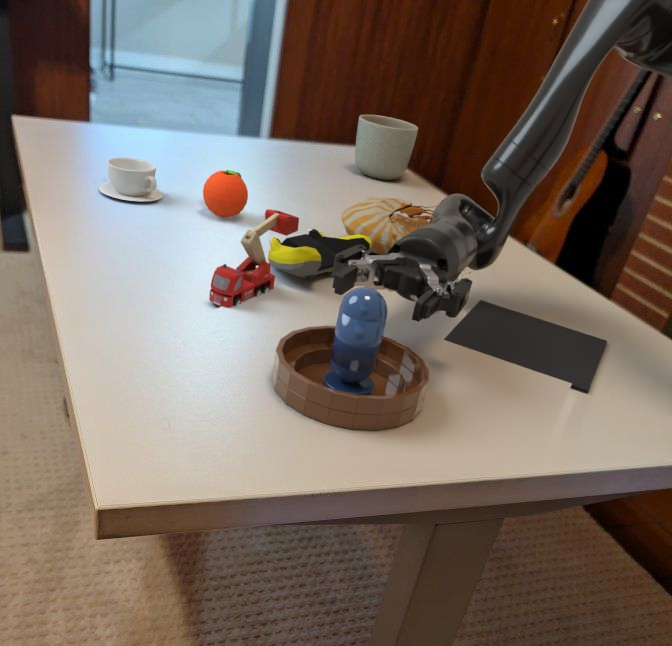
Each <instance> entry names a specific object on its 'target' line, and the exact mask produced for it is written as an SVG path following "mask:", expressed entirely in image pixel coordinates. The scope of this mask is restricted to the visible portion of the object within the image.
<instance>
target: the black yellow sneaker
mask: <svg viewBox="0 0 672 646" xmlns="http://www.w3.org/2000/svg"><path fill="white" fill-rule="evenodd" d="M268 243H269V244H268V245H269V248H270V249H269V250H268V255H267V261H268V263H269V264H271V267H273V268H275V269H277V270H279V271H282V272H285V273H286V274H289V275H290V274H291V275H293V276H296V277H298V278H302V279H306V280H313V279H315V278H316V277H317V275H320V274H324V273H327V272H328V273H331V272H333V266H334V261H335V255H336V254H338V253H340V252H342V251H344V250H347V249H349V248H351V247H353V246H356V245H363V246H365V247H366V252H365V254H367V255H369V254H370V253H372V252H371V249H372V241H371V239H370V237H368V236H364V235H359V234H356V235H351V236H350V235H345V236H339V237H330V236H326V235H325V234H324V233H323V232H322V231H320V230H318V229H315V228H308V229H307V230H306V233H304V234H300V235H295V236H290V237H286V238H285V239H283V241H281V240H280V239H279V238H278V237H275V236H273V237H271V236H269V238H268Z"/></svg>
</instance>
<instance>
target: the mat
mask: <svg viewBox="0 0 672 646" xmlns="http://www.w3.org/2000/svg"><path fill="white" fill-rule="evenodd" d="M443 341H446V342H449V343H452V344H454V345H458V346H460V347H463V348H467V349H469V350H471V351H472V350H473V351H476V352H478V353H481V354H484V355H486V356H489V357H492V358H496V359H499V360H501V361H504V362H507V363H510V364H513V365H516V366H518V367H522V368H524V369H528V370H530V371H534V372H537V373H540V374H543V375H546V376H549V377H552V378H554V379H557V380H560V381H563V382H567V383H569V384H571V385H570V388H571V389H573V390H576V391H580V392H582V393H585V394H588V393H589V391H590V389H591V386H592V384H593V380H594V378H595V375H596V373H597V370H598V367H599V364H600V362H601V359H602V357H603V354H604V352H605V348H606V346H607V343H608V340H607V339H603V338H601V337H597V336H595V335H591V334H589V333H585V332H581V331H580V330H579V331H578V330H576V329H573V328H569V327H566V326H563V325H560V324H558V323H554V322H551V321H547V320H545V319H541V318H538V317H535V316H533V315H530V314H526V313H523V312H519V311H517V310H513V309H510V308H507V307H504V306H501V305H497V304H495V303H492V302H488V301H485V300H483V299H480V300H479V301H478V302H477V303H476V304H475V305H474V306H473V307H472V308H471V309H470V310H469V312H468V313H467V314H466V315H464V317H463V318H462V319H461V320H460V321H459V322H458V323H457V324H456V325H455V326H454V327H453V329H452V330H451V331H450V332H448V334H447V335H446V336H445V338H444V339H443Z"/></svg>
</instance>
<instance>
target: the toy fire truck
mask: <svg viewBox="0 0 672 646" xmlns="http://www.w3.org/2000/svg"><path fill="white" fill-rule="evenodd" d="M299 222H300V217H298V216H296V215H293V214H290V213H286V212H283V211H280V210H278V209H277V210H276V209H271V208H270V209H265V212H264V221H262V222H261V223H259V224H258V225H257V226H256V227H254V228H253V229H247V230H246V232H245V234H244V235H243V237H242V238H241V240H240V244H241V245H242V247H243V249H244V251H245V253H246V254H247V257H246V258H245V259H244V260H243V261H242V262H241V263H240V264H239V265H238V266H237V267H236V268H233V267H230V266H228V265H227V264H226V263H223V264H222V265H220V266H217V267H216V268H215V270H214V272H213V274H212V277H211V281H210V289H209V302H211V303H212V304H214V305H216V306H217V307H220V308H221V307H223V308H229V309H230V308H233V307H237V306H238V305H242V303H244V302H246V301H249V300H251V299H252V298H253V299H254V298H258V296H261V295H262V294H263V295H265V294H266V293H268V292H270V291H271V290H273V289H274V288H275V281H276V280H275V279H276V275H275V274H273V273H271V269H272V268H271V267H272V266H271V264H270V263H269V262H267V259H266V255H265V251H264V248H263V245H262V242H261V236H263V235H264V234H265V233H267V232H268V231H272V232H274V233H277V234H280V235H283V236H290V235H292V234H294V233H296V232H298V231H299Z"/></svg>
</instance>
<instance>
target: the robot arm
mask: <svg viewBox="0 0 672 646" xmlns="http://www.w3.org/2000/svg"><path fill="white" fill-rule="evenodd" d="M612 50H614V51H615V52H616V53H617V54H618V55H619V56H620V57H621V58H622V59H624V60H625V61H626V62H627V63H629V64H631V65H633V66H636V67H639V68H641V69H644V70H647V71H649V72H652V73H655V74H658V75H660V76H663V77H666V78H668V79H671V80H672V0H587V2H586V3H585V6H584V7H583V9H582V11H581V13H580V14H579V16H578V17H577V19H576V22H575V23H574V24H573V27H572V28H571V31H570V32H569V34H568V35H567V37H566V39H565V41H564V42H563V44H562V47H561V48H560V50H559V52H558V54H557V55H556V57H555V59H554V61H553V62H552V63H551V64H552V65H551V66H550V68H549V70H548V72H547V73H546V75H545V77H544V79H543V81H542V83H541V84H540V86H539V88H538V89H537V92H536V93H535V95H534V96H533V98H532V100H531V101H530V102H529V104H528V106H527V107H526V108H525V110H524V112H523V113H522V114H521V116H520V117H519V119H518V120H517V122H516V123H515V124H514V125H513V127H512V128H511V129H510V131H509V132H508V134H506V137H504V139H503V140H502V142H501V143H500V144H499V145H498V147H497V148H496V149H495V150H494V152H493V154H492V155H491V156H490V158H489V159H488V160H487V161H486V163H485V164H484V166H483V168H482V170H481V172H480V178H481V180H482V182H483V184H484V185H485V186H486V187H487V189H488V190H489V191H490V192H491V194H492V195H493V196H494V198H495V200H496V202H497V213H496V215H495V216H493V215H492V214H491V213H489V212H488V211H487V210H486V209H484V208H483V207H482V206H480V205H479V204H478V203H477V202H475V200H474V199H472V198H471V197H470V196H468V195H465V194H463V193H452V194H449V195H447V196H446V197H444V198H443V199H442V200H441V201H440V202H439V203H438V205H436V207H435V209H434V210H433V211H434V212H432V213H433V214H432V215H430V217H431V218H430V219H429V220H428V222H429V224H427V225H424V226H422V227H419V228H418V229H416V230H415V231H413V232H411V233H409V234H408V235H406V236H405V237H403V238H401V239H400V240H398V241H397V242H396V243H395V244H394V245H393V246H392V247H391V248H390V250H389V251H388V252H387V254H375V255H373V254H371V255H369V254H368V255H367V254H365V252H366V247H365V246H363V245H356V246H353V247H351V248H349V249H347V250H344V251H342V252H340V253H338V254H336V255H335V261H334V266H333V271H332V273H331V278H332V279H333V281H332V286H331V288H332V289H334V291H333V292H334V294H336V295H338V296H343V295H344V294H347V293H348V292H350V291H351V290H353V288H355V287H368V288H372V289H374V290H376V291H380V290H381V291H382V290H385V291H386V290H387V291H388V292H391V293H392V292H395V293H396V294H397V295H398V296H400V297H402V298H403V299H405V300H407V301H410V302H415V304H414V308H413V312H412V315H411V316H412V317H411V320H412V321H415V322H418V323H420V322H421V321H422V320H429V319H430V318H431V317H432V316H433V315H438V314H439V313H440V312H444V315H445V316H446V317H448V318H451V319H455V318H457V317H458V315H459V314H460V313H461V312H462V310H463V309H464V307H465V306H466V305H467V303H468V299H469V296H470V292H471V289H472V284H473V280H472V279H469V278H466V277H464V278H461V279H460V280H459V279H458V278H459V277H460V275H461V274H462V273H463V271H464V270H465V269H466V268H468V269H470V270H472V271H481V270H484V269H487V268H488V267H490V266H491V265H493V264H494V263H495V262H496V261H497V259H499V257H500V255H501V253H502V251H503V250H504V247H505V245H506V243H507V240H508V238H509V235H510V233H511V231H512V228H513V226H514V224H515V222H516V219H517V218H518V216H519V213H520V211H521V210H522V208H523V207H524V205H525V204H526V202H527V201H528V200H529V198H530V197H531V195H532V194H533V193H534V191H535V189H537V187H538V186H539V185H540V183H541V182H542V181H543V180H544V179H545V177H546V176H547V174H549V172H550V171H551V170H552V168H553V167H554V166H555V165H556V163H557V162H558V160H559V159H560V157H561V156H562V154H563V152H564V150H565V149H566V146H567V145H568V143H569V141H570V138H571V135H572V133H573V129H574V126H575V124H576V121H577V117H578V115H579V112H580V109H581V105H582V103H583V100H584V97H585V95H586V92H587V90H588V88H589V86H590V84H591V82H592V80H593V78H594V76H595V74H596V72H597V71H598V69H599V68H600V66H601V64H602V63H603V61H604V60H605V59H606V58H607V56H608V55H609V53H611V51H612ZM358 273H362V276H360V277H358V275H359V274H358ZM375 277H376V279H377V280H375Z"/></svg>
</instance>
